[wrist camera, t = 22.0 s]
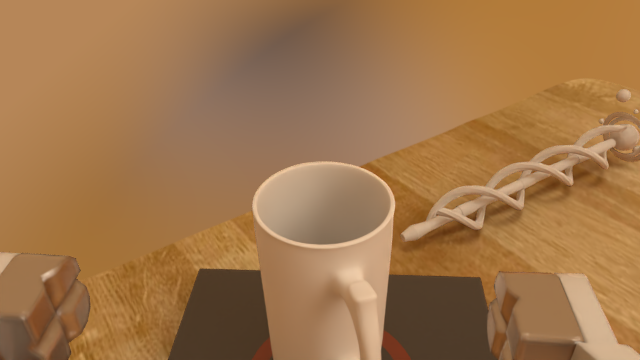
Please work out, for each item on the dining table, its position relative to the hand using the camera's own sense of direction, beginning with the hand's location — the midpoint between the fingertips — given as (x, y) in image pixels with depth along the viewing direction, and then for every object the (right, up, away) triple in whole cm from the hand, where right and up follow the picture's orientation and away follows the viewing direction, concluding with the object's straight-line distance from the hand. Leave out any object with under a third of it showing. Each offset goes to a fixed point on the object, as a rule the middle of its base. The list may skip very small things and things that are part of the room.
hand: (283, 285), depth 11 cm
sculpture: (+20, 0, +38) cm, 43 cm away
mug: (+2, -10, +21) cm, 23 cm away
